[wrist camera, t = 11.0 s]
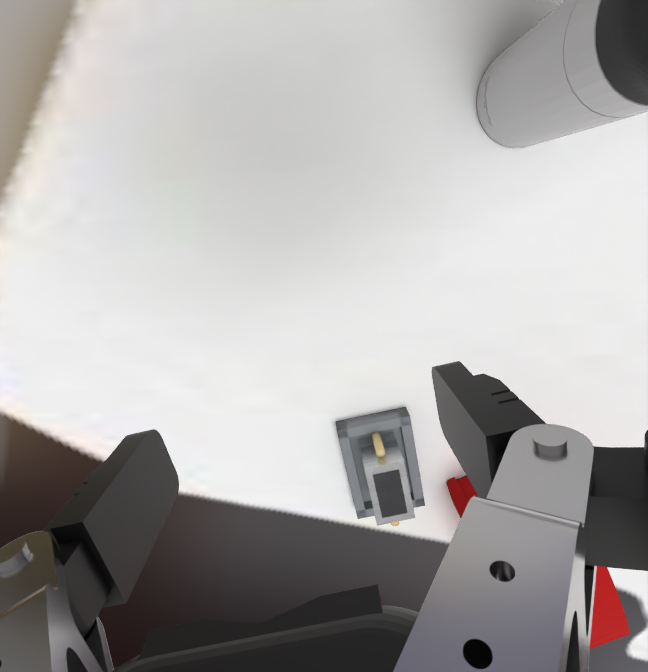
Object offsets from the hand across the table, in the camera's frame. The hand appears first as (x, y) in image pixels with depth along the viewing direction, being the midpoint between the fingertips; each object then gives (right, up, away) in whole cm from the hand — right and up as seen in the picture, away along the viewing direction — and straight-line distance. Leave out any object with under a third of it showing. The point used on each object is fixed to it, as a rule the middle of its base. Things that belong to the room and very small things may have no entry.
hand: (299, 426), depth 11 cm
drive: (+8, -14, +39) cm, 43 cm away
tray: (+8, -13, +40) cm, 43 cm away
